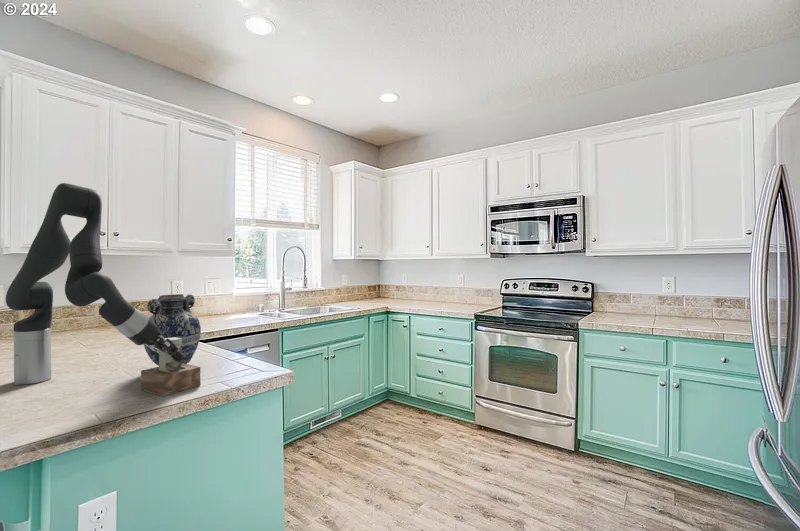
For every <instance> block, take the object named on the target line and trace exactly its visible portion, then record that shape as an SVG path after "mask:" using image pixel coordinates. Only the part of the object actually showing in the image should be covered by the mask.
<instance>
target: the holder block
mask: <svg viewBox="0 0 800 531" xmlns="http://www.w3.org/2000/svg"><path fill="white" fill-rule="evenodd" d="M199 385H200V386H201V366H197V365H194V364H189V363H187V364H184V363H182V364H181V370H177V371H173V372H169V373H167V372H163V371H159V366H156V367H153V368H152V367H151V368H147V369H142V370H141V371H140V390H141V391H143V390H144V391H143V392H147V393H150V394H153V393H154V394H153V395H156V394H157V395H156V396H161V397H165V395H166V396H168V394H169V395H172V393H173V394H175V392H176V393H179V392H178V391H180V392H183V391H186V390H185V389H187V390H189V389H188V388H190V389H193V388H196V387H195V386H197V387H200V386H199ZM192 387H193V388H192ZM182 390H183V391H182Z"/></svg>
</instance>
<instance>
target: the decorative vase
mask: <svg viewBox="0 0 800 531" xmlns="http://www.w3.org/2000/svg"><path fill="white" fill-rule="evenodd" d="M195 300H196V299H195V297H194V295H193V294H191V293H189V294H186V295H185V296H184V294H181V293H180V294H163V295H159V296H158V298H152V299H150V300H149V301H148V303H147V305H146V308H147V311H148V312H149V313H151V314H152V315H151V316H150V317H148V318H149V319H150V320H151V321H153V322H154V323H155V324H156V325H157V326H158V332H157V335H161V336H163V337H164V339H165V338H173V337H177V338H181V339H182V355H183V356H184V358H183V359H182V363H184V364H189V363H190V362H191V359H192V358H193V356H194V354H195V353H196V351H197V348H198V346H199V344H200V339H201V332H202V331H201V328H202V326H201V323H200V320H199V318H198V317H197V316H196V315H195V314H193V312H192V310H191V308H193V306H194V305H195V304H196V303H195ZM143 347H144V350H145V353H146V354H147V356H148V357H149V358H150V360H151V361H152V362H153V363H154V364H155V365H157V367H159V354H158V352H154V351H153V350H151V349H150V348H148V347H147V346H145V345H144V344H143Z"/></svg>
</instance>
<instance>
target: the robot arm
mask: <svg viewBox="0 0 800 531" xmlns="http://www.w3.org/2000/svg"><path fill="white" fill-rule="evenodd" d="M102 207H103V203H102V195H101V194H100V192H99V191H97V189H92V188H88V187H85V186H84V187H83V186H80V185H76V184H71V183H66V182H62V183H58V185H57V186H56V187H55V189H54V190H53V193H52V196H51V198H50V201H49V204H48V207H47V209H46V212H45V215H44V218H43V221H42V223H41V225H40V227H39V229H38V231H37V233H36V235H35V237H34V239H33V241H32V242H31V244H30V245H31V246H30V247H29V250H28V252H27V255H26V256H25V259H24V262H23V263H22V266H21V268H20V270H19V271H18V272H17V274H16V276H15V277H14V279H13V280H12V281H11V283H10V285H9V286H8V288H7V291H6V294H5V304H6V306H7V308H9V309H10V310H12V311H29V310H34V312H33V313H32V314H30V315H29V316H27V317H25V318H23V319H20V320H17V321H16V322H14V324H13V385H14V386H19V385H30V384H37V383H42V382H45V381H49V380H51V379H52V320H53V303H54V290H53V287H52V285H51V284H50V283H49V282H47V281H41V280H42V279H43V278H45V277H46V276H49V275H50V274H52V273H53V272H55V271H57V270H58V269H60V268H61V267H62V266H63V265H64V264H65V262H66V260H67V258H68V257H69V262H70V263H69V264H70V267H69V270H68V273H67V276H66V281H65V284H64V294H65V297H66V299H67V301H68V302H69V303H71V304H72V305H73V306H76V307H87V306H88V305H91V304H93V303H95V302H98V301H99V300H101V299H103V300H104V301H105V302H104V303H103V304H102V305H101V306H99V310H98V314H99V316H100V317H101V318H103V319H104V320H105V321H107V322H108V323H109V324H110V325H111V326H113V327H114V328H115V329H116V331H118V332H119V333H120V334H122V335H123V336H124V337H126V338H127V339H128V340H129V341H130V342H132V343H133V344H135V345H136V346H144V345H145V346H147V347H148V348H150V349H151V350H153V351H154V352H158V354H159V351H160V352H162V353H164V352H165V353H166V354H168V355H169V356H171V357H172V358H173V359H175V360H176V361H177V362H180V361H181V360H182V359H183V358H184V356H183V355H181V354H180V353H179V352H178V351H177V350H178V348H177V347H176V346H175V345H174V344H173V343H172V342H171V341H170V339H164V337H163V336H161V335H157V332H158V326H157V325H156V324H155V323H154V322H153V321H151V320H150V319H149V317H148V316H147V315H146V314H144V313H143V312H142V311H140V310H139V309H137V307H135V306H133V305H132V304H131V303H130V302H128V301H127V300H126V299H125V297H123V295H122V294H121V292H120V291H119V290H118V288H117V286H116V285H115V283H114V281H113V279H112V278H111V277H109V275H107V274H105V273H102V272H101V270H102V268H103V258H102V250H101V229H102V228H101V227H102V210H103V209H102ZM65 215H66V216H70V217H77V218H83V219H86V223H85V225H83V228H82V229H81V230H80V231H79V232H77V234H76V235H75V236H73V238H72V239H70V237H69V235H68V233H67V232H66V230H65V228H64V226H63V223H62V222H63V221H62V218H63V217H64V216H65ZM162 348H164V349H163V350H162Z"/></svg>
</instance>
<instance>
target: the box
mask: <svg viewBox="0 0 800 531" xmlns="http://www.w3.org/2000/svg"><path fill="white" fill-rule="evenodd" d="M165 339H170V341H171V342H172V343H173V344H174V345H175V346H176V347H177V348H178V350H177V351H178V352H179V353H180V354H181V355H182V339H181V338H177V337H173V338H165ZM163 349H164V348H162V350H163ZM181 364H182V360H181V361H180V362H177V361H176V360H175V359H173V358H172V357H171V356H169V355H168V354H166V353H165V352H164V353H162V352H160V351H159V366H158V367H159V371H163V372H167V373H169V372H173V371H177V370H181Z"/></svg>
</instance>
